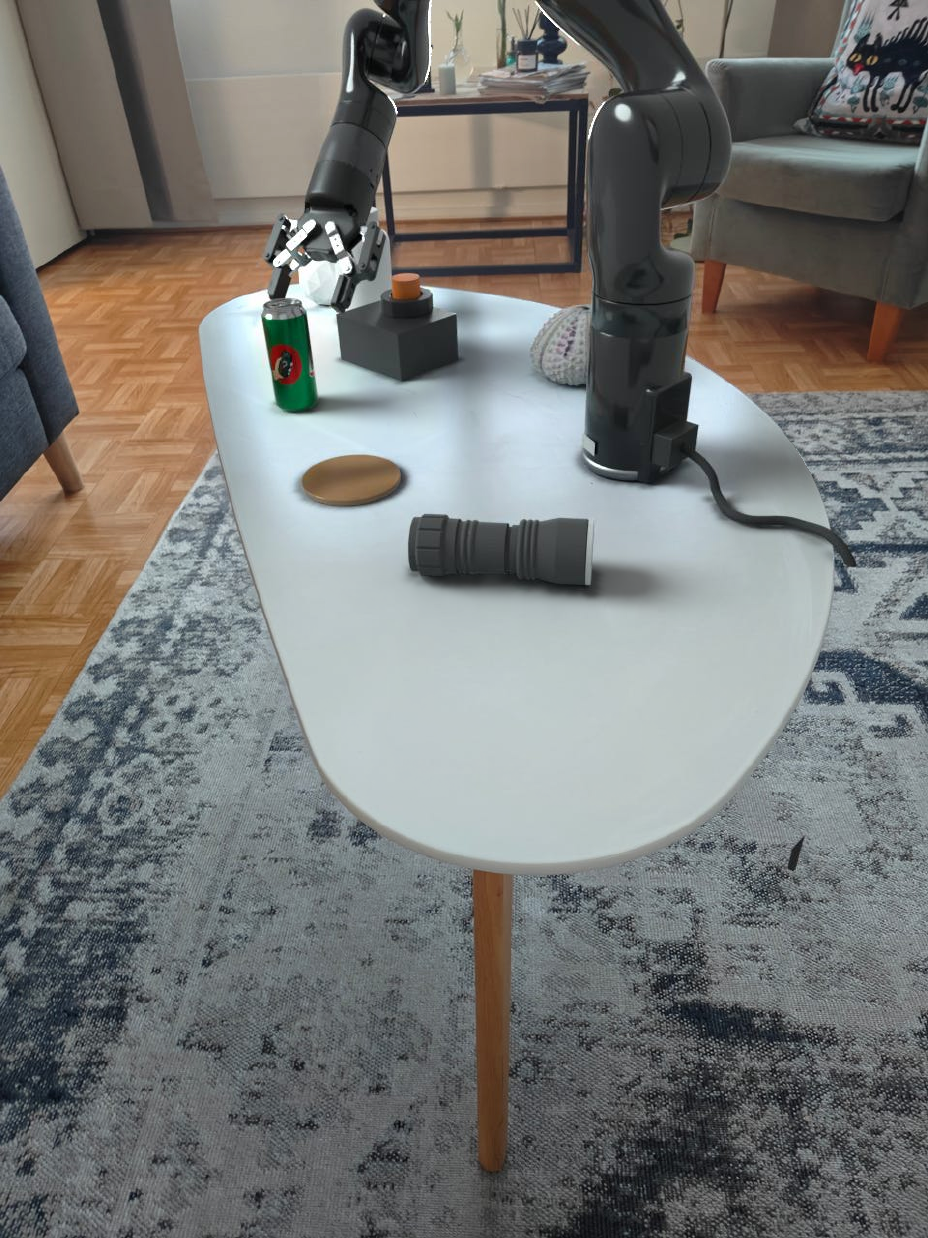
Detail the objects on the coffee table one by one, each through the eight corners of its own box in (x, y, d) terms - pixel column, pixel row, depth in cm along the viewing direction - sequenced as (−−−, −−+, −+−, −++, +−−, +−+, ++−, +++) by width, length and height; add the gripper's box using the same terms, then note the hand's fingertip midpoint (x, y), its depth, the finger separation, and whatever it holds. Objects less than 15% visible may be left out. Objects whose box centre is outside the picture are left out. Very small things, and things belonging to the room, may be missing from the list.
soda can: (325, 407, 106) (312, 304, 99) (285, 417, 104) (268, 313, 97) (309, 393, 110) (295, 293, 103) (270, 403, 108) (253, 301, 101)
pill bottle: (392, 327, 129) (384, 215, 120) (337, 328, 129) (324, 216, 120) (397, 309, 135) (389, 201, 126) (344, 311, 135) (332, 203, 126)
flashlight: (405, 587, 75) (400, 531, 72) (417, 553, 80) (413, 499, 76) (589, 597, 73) (593, 541, 70) (592, 562, 77) (595, 507, 74)
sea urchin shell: (657, 381, 109) (663, 314, 105) (557, 400, 106) (559, 332, 101) (604, 346, 120) (608, 285, 115) (511, 363, 116) (511, 300, 111)
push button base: (459, 359, 118) (457, 296, 113) (401, 382, 112) (396, 317, 107) (399, 339, 125) (394, 279, 120) (341, 359, 119) (334, 298, 114)
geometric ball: (331, 315, 142) (345, 266, 142) (348, 310, 135) (363, 258, 135) (286, 297, 139) (300, 246, 138) (301, 290, 132) (316, 236, 131)
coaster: (421, 479, 91) (421, 474, 90) (344, 516, 85) (343, 511, 85) (358, 450, 97) (357, 445, 96) (282, 483, 91) (281, 478, 91)
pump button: (426, 296, 115) (425, 276, 113) (405, 303, 113) (404, 282, 111) (407, 291, 117) (406, 271, 115) (386, 298, 115) (385, 277, 113)
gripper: (279, 154, 104) (237, 283, 103) (386, 159, 99) (343, 295, 98) (310, 194, 111) (271, 315, 110) (412, 201, 106) (372, 328, 105)
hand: (305, 305), depth 104 cm, fingers open, 8 cm apart
